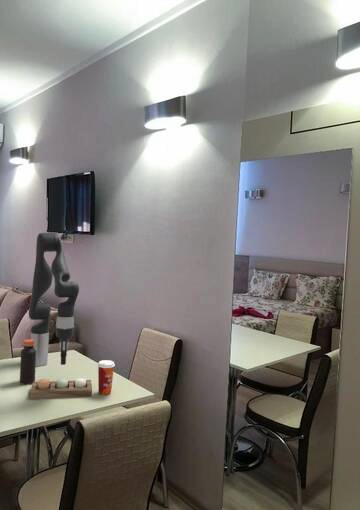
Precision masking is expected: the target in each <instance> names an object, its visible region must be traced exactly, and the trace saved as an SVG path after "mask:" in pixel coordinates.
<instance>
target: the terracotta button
mask: <svg viewBox="0 0 360 510" xmlns="http://www.w3.org/2000/svg"><path fill="white" fill-rule="evenodd" d="M49 381H50V380H49V379H47V378H42V379H38V381H37V382H38V389H49Z"/></svg>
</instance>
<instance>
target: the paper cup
mask: <svg viewBox="0 0 360 510" xmlns="http://www.w3.org/2000/svg"><path fill="white" fill-rule="evenodd" d="M115 366H116V364H115V361H113V360H110V359H108V360H107V359H106V360H105V359H103V360H100V361H98V364H97V369H98V380H97V381H98V385H97V386H98V394H99V395H102V396H107V395H111V393H112V386H113V377H114V369H115Z"/></svg>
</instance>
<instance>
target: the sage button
mask: <svg viewBox="0 0 360 510" xmlns="http://www.w3.org/2000/svg"><path fill="white" fill-rule="evenodd" d="M56 381H57V387H56V389H58V388H68V381H69V379H68V378H64V377H63V378H58V379H57V380H56Z"/></svg>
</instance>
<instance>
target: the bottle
mask: <svg viewBox="0 0 360 510" xmlns="http://www.w3.org/2000/svg"><path fill="white" fill-rule="evenodd" d="M34 344H35V340H33V339H31V338H29V339H24V340H23V348H22V349H21V351H20V364H19V365H20V367H19V368H20V369H19V383H20V385H21V384H22V385H32V383H33V382H36V368H37V366H36V350H35V349H34Z"/></svg>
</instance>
